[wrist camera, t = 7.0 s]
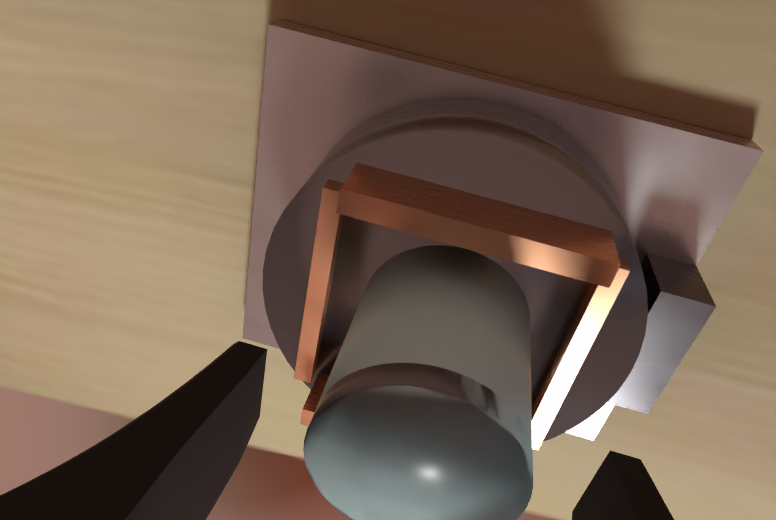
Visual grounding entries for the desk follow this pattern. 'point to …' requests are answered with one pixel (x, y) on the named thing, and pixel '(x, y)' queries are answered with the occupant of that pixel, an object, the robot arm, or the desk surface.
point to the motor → (483, 214)
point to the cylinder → (429, 395)
